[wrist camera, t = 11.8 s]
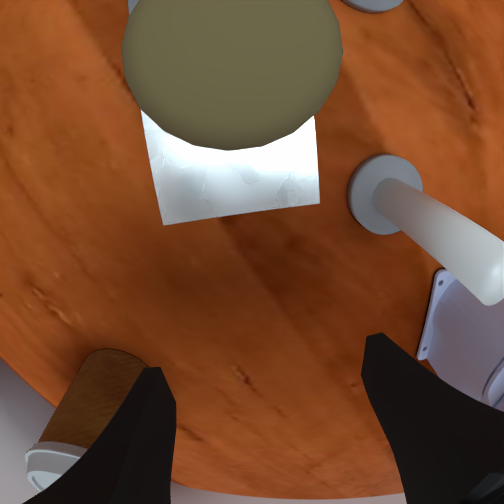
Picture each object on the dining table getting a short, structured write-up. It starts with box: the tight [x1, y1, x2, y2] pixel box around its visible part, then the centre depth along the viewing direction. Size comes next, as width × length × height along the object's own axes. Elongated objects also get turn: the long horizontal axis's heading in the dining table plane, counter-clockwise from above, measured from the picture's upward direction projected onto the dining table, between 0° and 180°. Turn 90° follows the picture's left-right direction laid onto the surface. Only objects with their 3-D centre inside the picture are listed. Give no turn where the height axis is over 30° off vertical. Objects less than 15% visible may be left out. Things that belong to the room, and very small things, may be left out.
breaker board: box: [128, 0, 320, 225], centre depth 14 cm, size 14×9×4 cm, turn 7°
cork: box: [121, 0, 343, 151], centre depth 10 cm, size 6×6×11 cm
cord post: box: [347, 153, 504, 306], centre depth 14 cm, size 5×5×11 cm
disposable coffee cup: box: [25, 349, 148, 492], centre depth 19 cm, size 10×10×12 cm
